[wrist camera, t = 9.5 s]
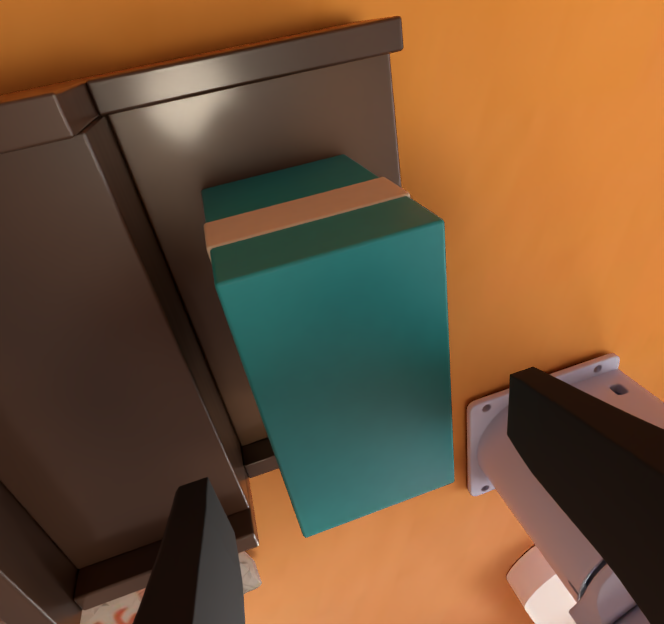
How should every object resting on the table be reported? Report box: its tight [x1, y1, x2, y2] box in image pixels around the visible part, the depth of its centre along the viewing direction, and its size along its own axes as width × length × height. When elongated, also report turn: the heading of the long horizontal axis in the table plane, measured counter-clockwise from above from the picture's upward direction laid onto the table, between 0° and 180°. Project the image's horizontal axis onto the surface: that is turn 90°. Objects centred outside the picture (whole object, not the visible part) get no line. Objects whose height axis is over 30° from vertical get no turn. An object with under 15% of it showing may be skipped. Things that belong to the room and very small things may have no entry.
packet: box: [201, 154, 455, 538], centre depth 13 cm, size 5×8×6 cm, turn 10°
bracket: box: [506, 545, 576, 624], centre depth 38 cm, size 20×9×7 cm, turn 29°
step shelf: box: [0, 16, 403, 624], centre depth 14 cm, size 15×15×8 cm
